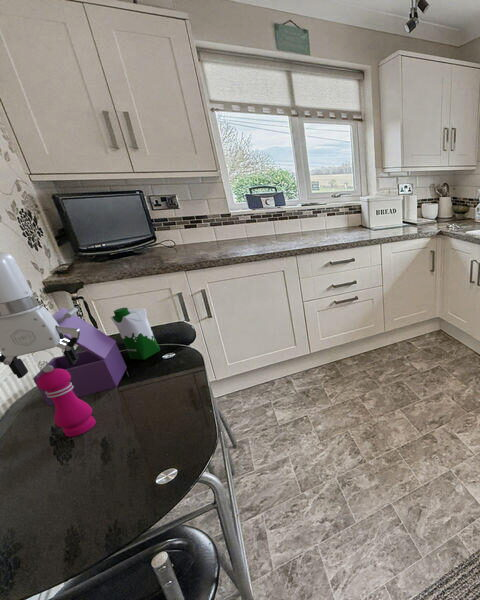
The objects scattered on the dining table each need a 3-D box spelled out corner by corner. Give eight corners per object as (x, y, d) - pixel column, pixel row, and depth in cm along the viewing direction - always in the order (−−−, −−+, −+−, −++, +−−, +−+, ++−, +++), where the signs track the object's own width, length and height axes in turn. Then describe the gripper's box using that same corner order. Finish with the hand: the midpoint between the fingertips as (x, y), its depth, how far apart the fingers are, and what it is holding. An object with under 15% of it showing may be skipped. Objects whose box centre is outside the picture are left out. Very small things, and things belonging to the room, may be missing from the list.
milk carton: (125, 360, 124) (104, 312, 117) (147, 348, 133) (129, 302, 125) (143, 361, 122) (123, 312, 115) (165, 349, 130) (146, 302, 123)
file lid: (41, 323, 94) (55, 312, 95) (61, 308, 106) (73, 299, 107) (102, 360, 103) (115, 350, 104) (114, 343, 115) (125, 334, 116)
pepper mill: (64, 442, 84) (25, 377, 77) (62, 430, 89) (26, 367, 82) (100, 426, 89) (67, 364, 82) (96, 415, 94) (65, 355, 86)
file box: (48, 405, 100) (32, 378, 97) (66, 383, 112) (52, 358, 108) (116, 386, 107) (104, 360, 104) (126, 367, 119) (116, 343, 115)
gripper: (-51, 321, 69) (-7, 388, 75) (56, 301, 76) (88, 364, 82) (-28, 311, 76) (10, 373, 82) (68, 293, 83) (97, 352, 89)
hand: (49, 368), depth 82 cm, fingers open, 9 cm apart
